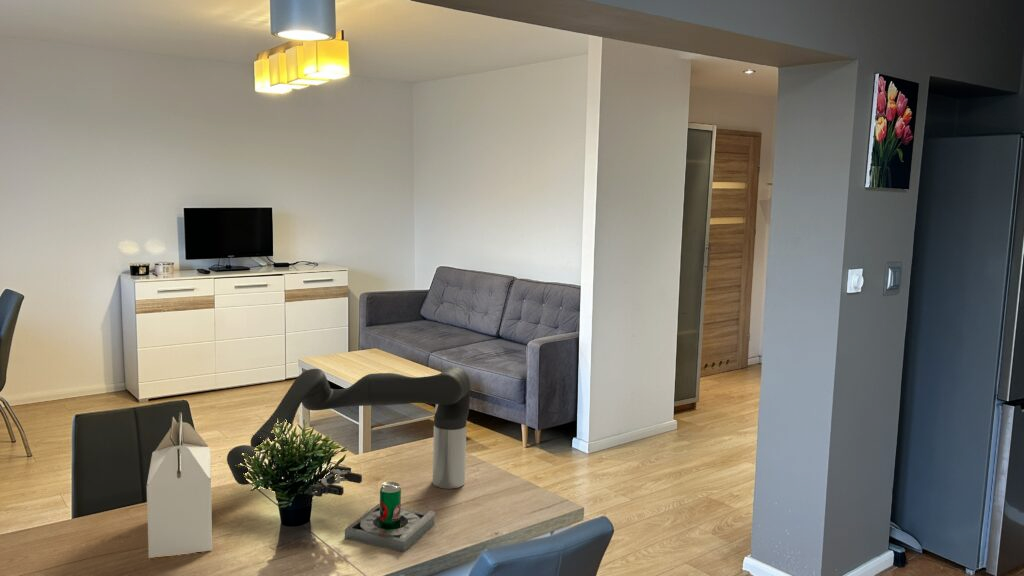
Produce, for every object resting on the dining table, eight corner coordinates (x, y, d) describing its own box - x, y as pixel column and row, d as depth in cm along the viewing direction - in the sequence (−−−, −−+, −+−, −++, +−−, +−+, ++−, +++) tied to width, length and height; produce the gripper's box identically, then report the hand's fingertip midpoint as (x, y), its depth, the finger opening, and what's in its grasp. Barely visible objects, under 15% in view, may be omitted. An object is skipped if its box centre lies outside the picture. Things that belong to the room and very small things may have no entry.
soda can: (396, 537, 190) (396, 490, 188) (376, 534, 191) (377, 487, 189) (403, 528, 195) (403, 482, 193) (383, 526, 196) (384, 480, 194)
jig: (378, 513, 203) (378, 500, 203) (434, 524, 198) (434, 511, 197) (344, 538, 188) (344, 525, 188) (404, 552, 183) (404, 537, 182)
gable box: (154, 518, 195) (151, 409, 191) (211, 512, 200) (209, 406, 196) (148, 560, 175) (145, 439, 171) (212, 552, 179) (210, 434, 175)
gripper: (279, 469, 194) (336, 480, 188) (313, 451, 207) (367, 461, 201) (280, 498, 195) (336, 510, 189) (313, 479, 208) (366, 488, 202)
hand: (352, 484), depth 195 cm, fingers open, 8 cm apart
